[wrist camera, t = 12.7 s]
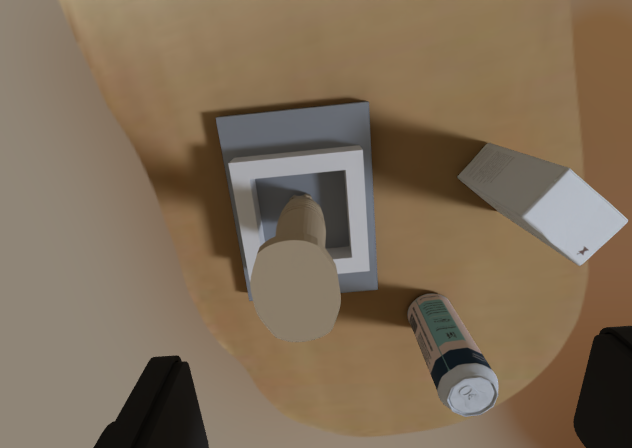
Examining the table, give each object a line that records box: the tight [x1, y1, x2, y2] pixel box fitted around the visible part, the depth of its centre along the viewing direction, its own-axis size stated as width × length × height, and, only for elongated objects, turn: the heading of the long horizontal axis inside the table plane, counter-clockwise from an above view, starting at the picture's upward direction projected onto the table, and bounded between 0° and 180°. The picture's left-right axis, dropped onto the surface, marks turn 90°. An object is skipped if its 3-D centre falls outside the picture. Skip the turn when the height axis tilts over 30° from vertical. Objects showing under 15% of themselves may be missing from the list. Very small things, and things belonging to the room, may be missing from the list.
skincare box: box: [457, 143, 628, 266], centre depth 30 cm, size 6×4×12 cm
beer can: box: [407, 293, 498, 417], centre depth 35 cm, size 5×5×12 cm
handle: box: [250, 193, 341, 342], centre depth 28 cm, size 5×6×15 cm
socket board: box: [216, 101, 378, 301], centre depth 35 cm, size 18×13×4 cm
